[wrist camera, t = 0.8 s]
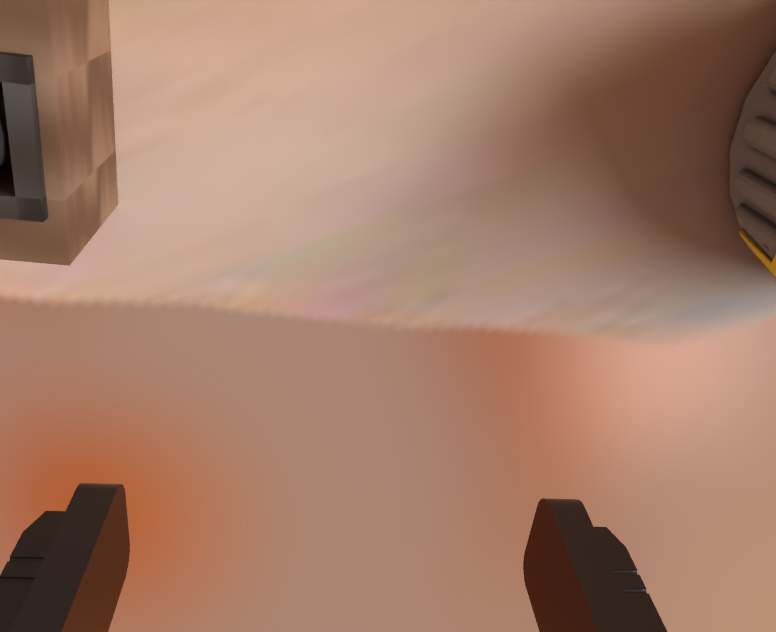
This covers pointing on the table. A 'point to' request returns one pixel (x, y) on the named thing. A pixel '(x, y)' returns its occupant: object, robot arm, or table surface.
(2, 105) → the peg
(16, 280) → the table surface
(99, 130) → the walnut bar
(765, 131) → the decorative lamp
